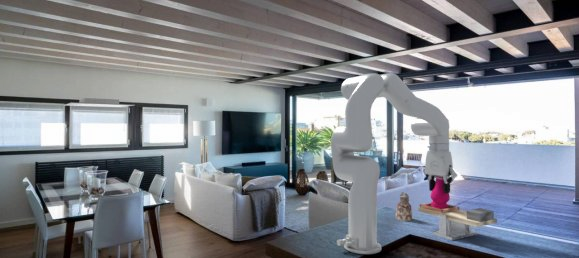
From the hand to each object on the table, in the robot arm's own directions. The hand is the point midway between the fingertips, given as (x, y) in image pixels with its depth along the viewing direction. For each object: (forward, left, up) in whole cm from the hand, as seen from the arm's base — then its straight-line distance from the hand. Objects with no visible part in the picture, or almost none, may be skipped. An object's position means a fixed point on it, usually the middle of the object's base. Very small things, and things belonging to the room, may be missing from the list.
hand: (439, 191), depth 136 cm
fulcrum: (0, -7, -16) cm, 17 cm away
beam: (0, -7, -9) cm, 11 cm away
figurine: (0, +19, -16) cm, 25 cm away
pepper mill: (+1, +1, -7) cm, 7 cm away
